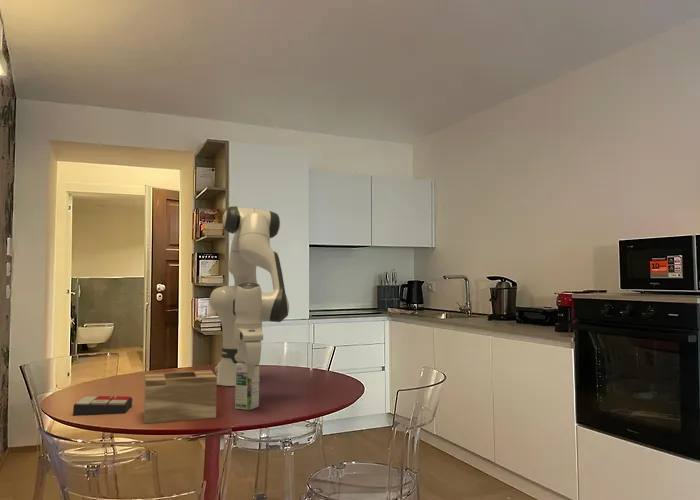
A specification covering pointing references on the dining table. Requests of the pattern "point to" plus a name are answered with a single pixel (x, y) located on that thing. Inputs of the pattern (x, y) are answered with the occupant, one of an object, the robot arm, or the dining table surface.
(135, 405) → the dining table surface
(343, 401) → the dining table surface
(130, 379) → the dining table surface
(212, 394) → the posting box
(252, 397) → the syrup box
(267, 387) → the dining table surface
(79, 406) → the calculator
